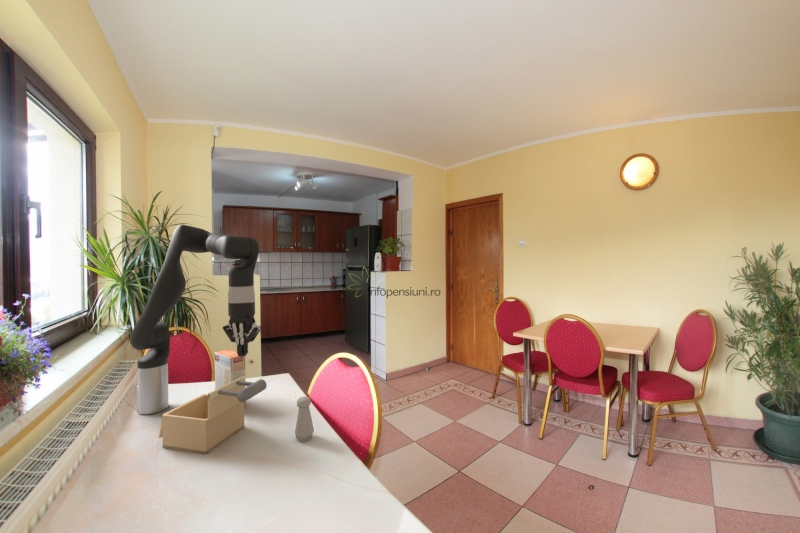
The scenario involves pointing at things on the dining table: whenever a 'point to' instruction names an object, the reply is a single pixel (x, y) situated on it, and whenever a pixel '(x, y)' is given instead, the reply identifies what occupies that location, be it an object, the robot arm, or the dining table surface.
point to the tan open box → (199, 426)
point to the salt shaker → (304, 420)
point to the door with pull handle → (232, 395)
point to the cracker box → (228, 368)
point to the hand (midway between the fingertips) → (242, 355)
